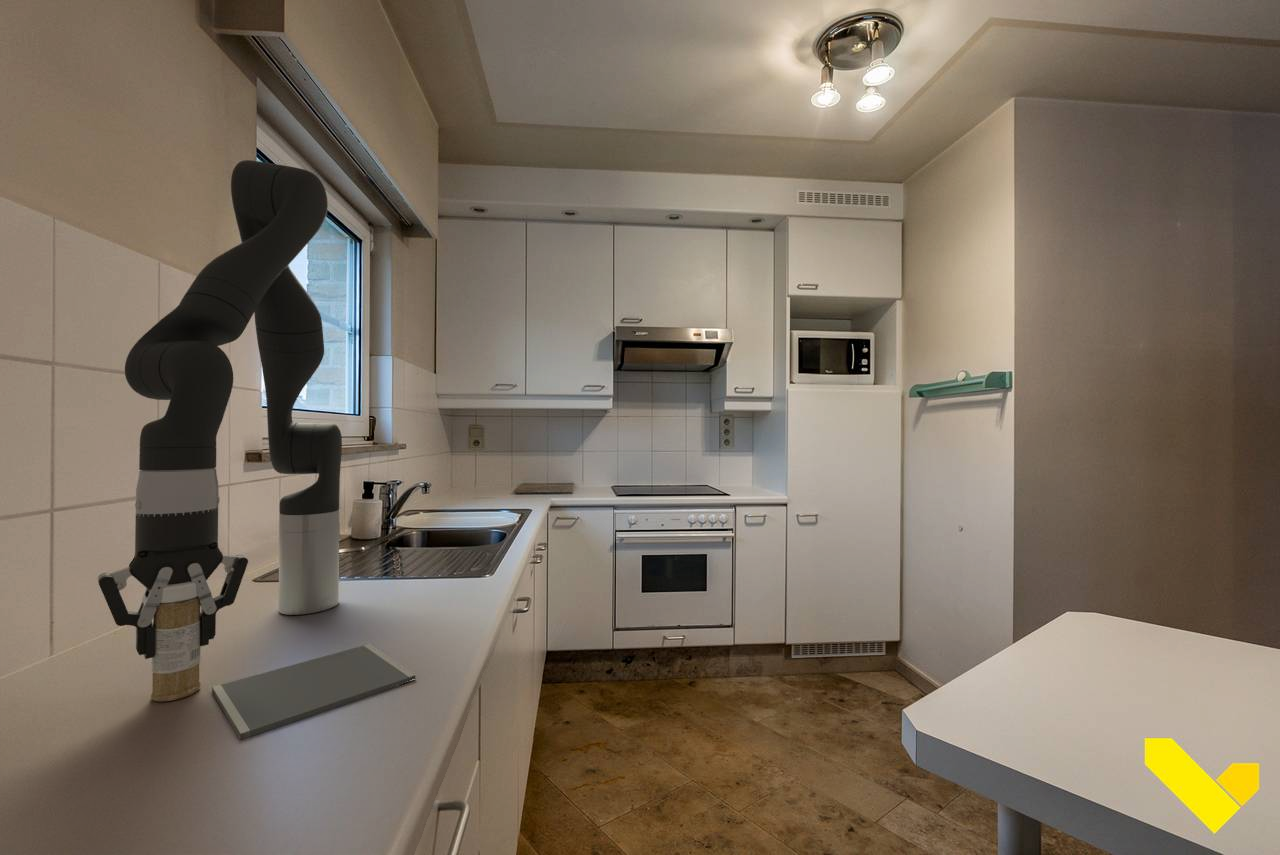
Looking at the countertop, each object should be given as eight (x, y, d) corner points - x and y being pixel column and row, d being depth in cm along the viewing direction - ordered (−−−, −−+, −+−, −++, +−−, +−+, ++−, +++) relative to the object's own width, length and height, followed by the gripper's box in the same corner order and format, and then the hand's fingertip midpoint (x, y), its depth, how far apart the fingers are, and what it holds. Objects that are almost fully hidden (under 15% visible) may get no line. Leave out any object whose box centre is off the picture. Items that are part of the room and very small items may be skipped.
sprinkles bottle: (174, 685, 66) (175, 576, 66) (210, 685, 66) (212, 576, 66) (139, 703, 61) (140, 586, 62) (178, 704, 61) (179, 586, 62)
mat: (212, 692, 64) (212, 686, 64) (368, 648, 77) (369, 643, 77) (240, 739, 54) (240, 733, 54) (415, 680, 67) (415, 674, 67)
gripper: (244, 499, 72) (242, 627, 72) (92, 510, 61) (89, 659, 61) (258, 504, 67) (256, 641, 66) (95, 516, 56) (92, 680, 56)
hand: (176, 649), depth 64 cm, fingers closed on sprinkles bottle, 4 cm apart
